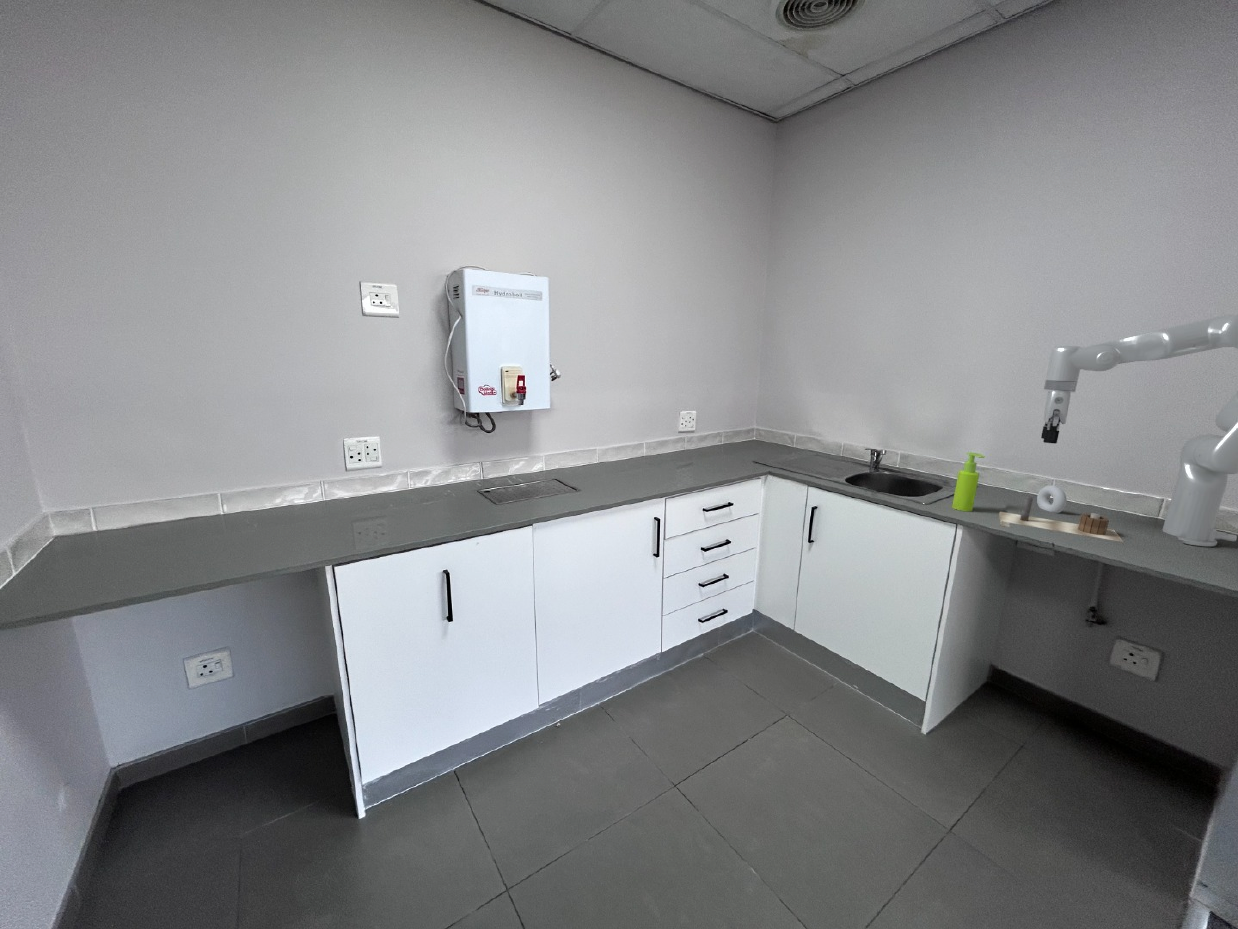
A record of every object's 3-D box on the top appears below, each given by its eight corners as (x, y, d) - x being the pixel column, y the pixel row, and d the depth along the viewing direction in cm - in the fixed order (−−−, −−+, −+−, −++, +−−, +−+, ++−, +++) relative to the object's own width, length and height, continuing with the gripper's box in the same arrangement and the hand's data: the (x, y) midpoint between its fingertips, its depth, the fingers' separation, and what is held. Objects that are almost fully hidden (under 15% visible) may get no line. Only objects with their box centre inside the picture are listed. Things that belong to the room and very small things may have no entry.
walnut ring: (1102, 530, 150) (1106, 516, 149) (1107, 536, 146) (1111, 521, 145) (1076, 526, 154) (1080, 512, 153) (1079, 531, 149) (1083, 517, 148)
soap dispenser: (964, 512, 170) (975, 455, 165) (947, 506, 176) (957, 451, 172) (979, 512, 171) (990, 455, 166) (961, 505, 177) (972, 450, 173)
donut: (1065, 518, 166) (1072, 490, 163) (1055, 518, 166) (1062, 489, 163) (1041, 509, 175) (1047, 482, 173) (1031, 509, 175) (1037, 481, 173)
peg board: (1113, 534, 152) (1121, 505, 149) (1122, 546, 142) (1131, 515, 140) (999, 515, 167) (1004, 488, 165) (1000, 525, 157) (1006, 496, 155)
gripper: (1079, 388, 146) (1067, 446, 150) (1072, 386, 159) (1061, 438, 163) (1046, 387, 150) (1035, 443, 154) (1042, 384, 164) (1031, 436, 168)
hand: (1048, 440), depth 159 cm, fingers open, 9 cm apart
